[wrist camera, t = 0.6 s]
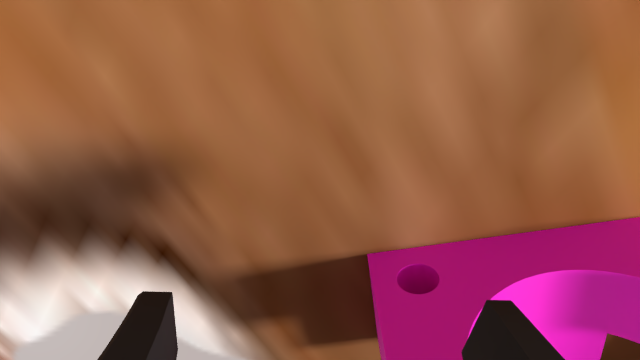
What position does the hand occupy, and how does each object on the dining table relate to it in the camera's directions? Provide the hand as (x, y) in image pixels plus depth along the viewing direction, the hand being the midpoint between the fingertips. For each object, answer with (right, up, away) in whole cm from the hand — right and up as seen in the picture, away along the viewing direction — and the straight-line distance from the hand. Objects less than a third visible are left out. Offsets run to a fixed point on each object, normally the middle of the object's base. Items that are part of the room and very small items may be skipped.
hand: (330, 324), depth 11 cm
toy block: (+10, -2, +14) cm, 17 cm away
